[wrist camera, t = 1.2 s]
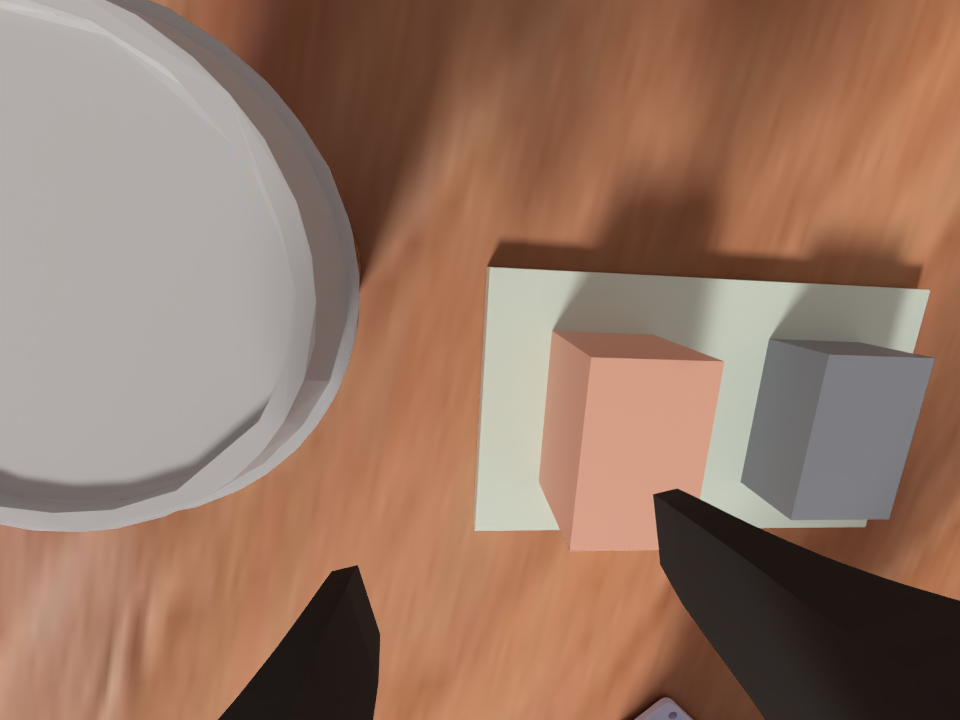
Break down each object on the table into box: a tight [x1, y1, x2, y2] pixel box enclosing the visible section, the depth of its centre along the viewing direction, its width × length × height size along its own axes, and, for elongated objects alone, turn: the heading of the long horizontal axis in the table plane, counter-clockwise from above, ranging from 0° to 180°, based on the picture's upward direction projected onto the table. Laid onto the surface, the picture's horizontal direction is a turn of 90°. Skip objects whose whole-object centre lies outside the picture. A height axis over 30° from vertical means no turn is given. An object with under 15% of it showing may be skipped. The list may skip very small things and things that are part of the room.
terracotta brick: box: [539, 331, 724, 551], centre depth 18 cm, size 4×7×5 cm, turn 177°
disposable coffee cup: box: [0, 0, 361, 532], centre depth 13 cm, size 10×10×12 cm
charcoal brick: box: [741, 339, 935, 520], centre depth 20 cm, size 4×7×3 cm, turn 176°
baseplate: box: [473, 267, 930, 531], centre depth 21 cm, size 20×12×1 cm, turn 86°
